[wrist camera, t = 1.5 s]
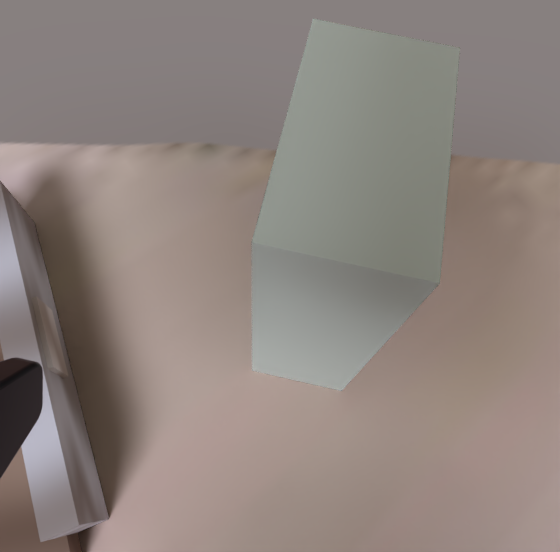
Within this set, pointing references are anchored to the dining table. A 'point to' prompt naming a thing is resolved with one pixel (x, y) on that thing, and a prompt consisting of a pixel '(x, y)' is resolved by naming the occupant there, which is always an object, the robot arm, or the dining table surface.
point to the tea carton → (352, 202)
